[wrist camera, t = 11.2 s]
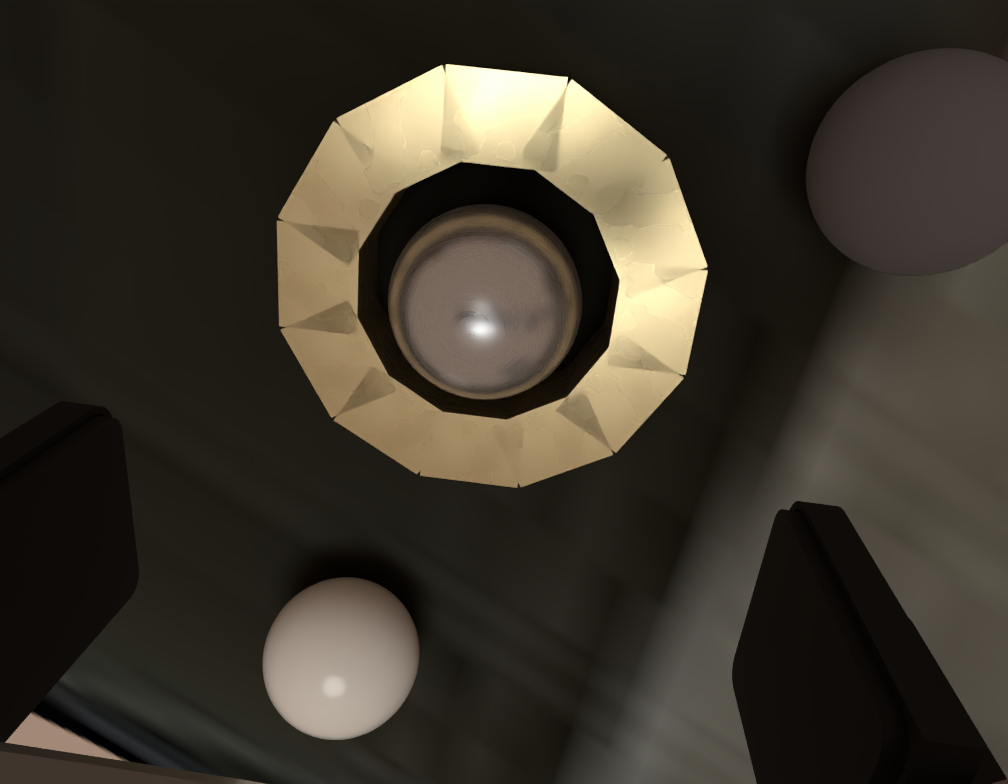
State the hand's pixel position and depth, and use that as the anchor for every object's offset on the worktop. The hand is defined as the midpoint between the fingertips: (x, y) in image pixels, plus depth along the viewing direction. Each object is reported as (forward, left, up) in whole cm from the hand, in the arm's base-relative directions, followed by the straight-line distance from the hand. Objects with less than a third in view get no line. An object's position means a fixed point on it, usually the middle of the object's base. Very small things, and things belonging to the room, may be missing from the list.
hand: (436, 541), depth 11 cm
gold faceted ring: (+1, 0, -15) cm, 15 cm away
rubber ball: (-10, -5, -12) cm, 17 cm away
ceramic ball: (+5, +14, -12) cm, 19 cm away
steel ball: (0, 0, -12) cm, 12 cm away
